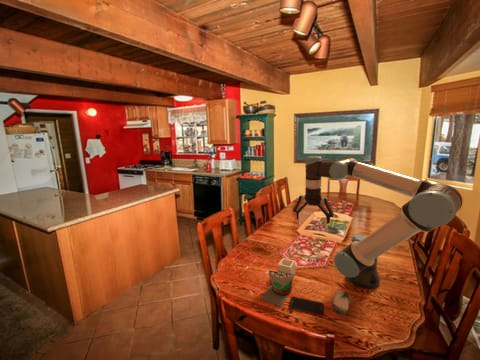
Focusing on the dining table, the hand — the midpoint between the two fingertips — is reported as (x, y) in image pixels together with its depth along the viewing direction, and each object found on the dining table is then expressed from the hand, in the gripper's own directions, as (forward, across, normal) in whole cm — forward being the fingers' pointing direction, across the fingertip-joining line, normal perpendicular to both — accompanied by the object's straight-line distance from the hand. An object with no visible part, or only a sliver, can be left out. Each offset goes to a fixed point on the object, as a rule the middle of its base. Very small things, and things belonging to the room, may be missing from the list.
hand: (312, 226), depth 123 cm
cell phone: (+27, -5, +26) cm, 38 cm away
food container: (+26, +9, +24) cm, 36 cm away
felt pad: (+27, +10, +24) cm, 37 cm away
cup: (+27, +11, +9) cm, 30 cm away
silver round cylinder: (+27, -18, +20) cm, 38 cm away
